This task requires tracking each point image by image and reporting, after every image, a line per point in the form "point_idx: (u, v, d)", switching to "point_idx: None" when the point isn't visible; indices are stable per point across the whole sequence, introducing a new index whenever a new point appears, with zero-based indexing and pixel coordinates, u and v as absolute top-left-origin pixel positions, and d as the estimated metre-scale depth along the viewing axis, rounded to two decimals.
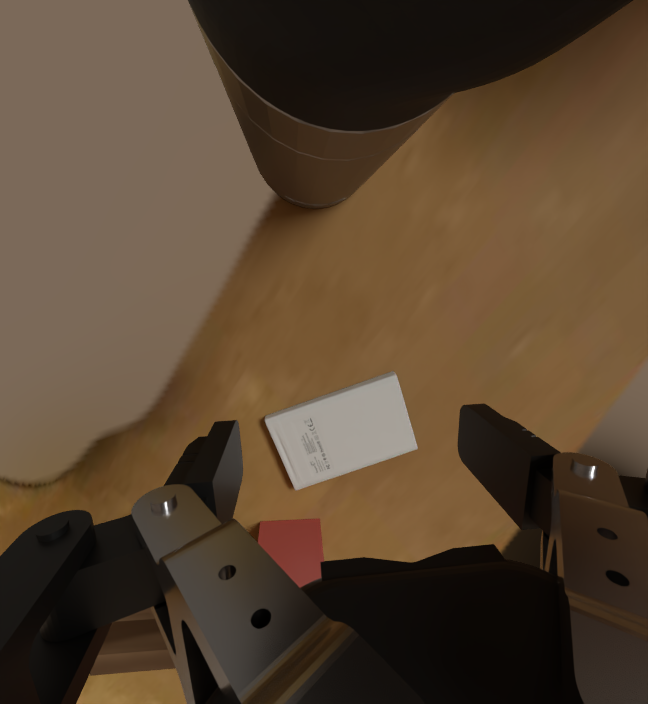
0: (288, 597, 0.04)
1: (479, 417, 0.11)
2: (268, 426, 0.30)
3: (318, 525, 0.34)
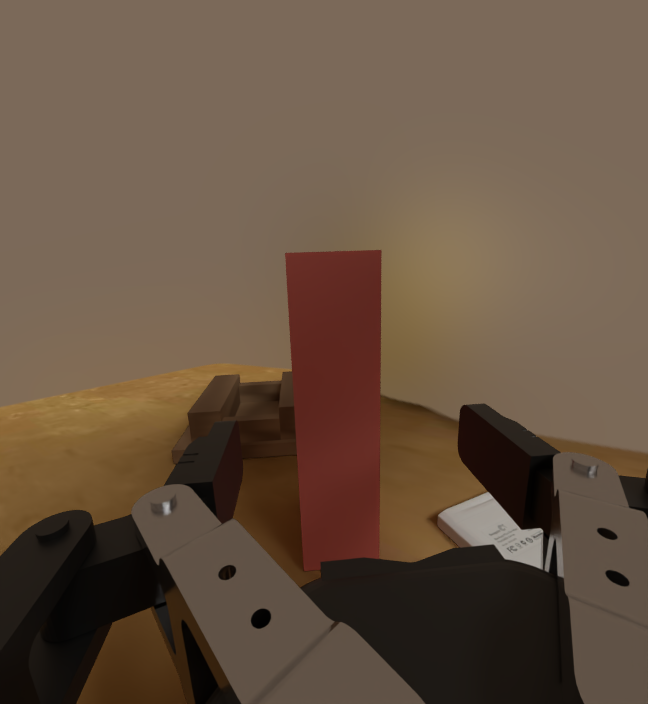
0: (288, 597, 0.04)
1: (479, 417, 0.11)
2: None
3: None
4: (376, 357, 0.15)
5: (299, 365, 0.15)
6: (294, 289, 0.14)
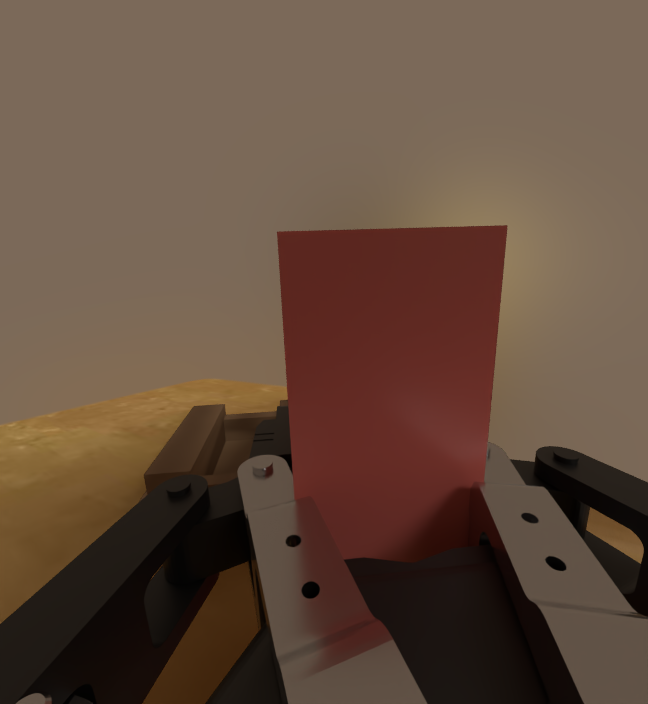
0: (340, 580, 0.05)
1: None
2: None
3: None
4: (477, 462, 0.07)
5: (309, 484, 0.07)
6: (300, 319, 0.06)
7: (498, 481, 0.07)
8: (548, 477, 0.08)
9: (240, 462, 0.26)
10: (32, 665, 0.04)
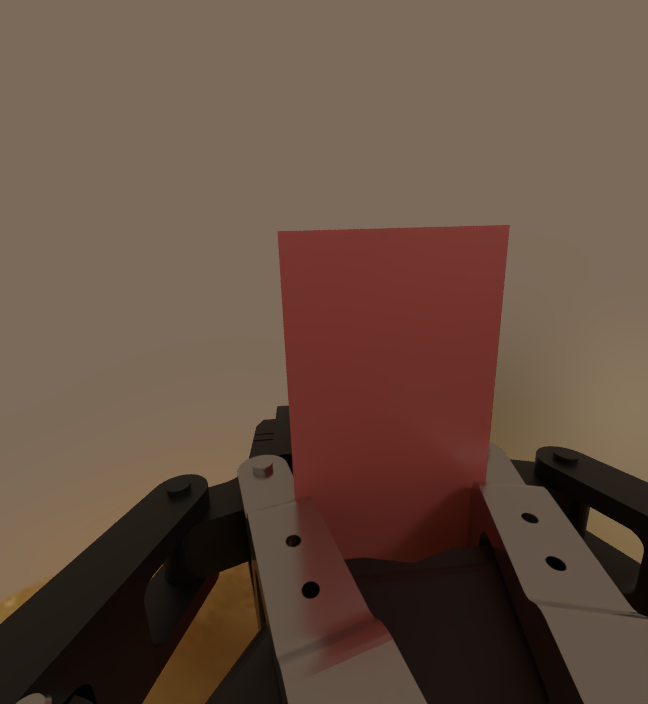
0: (339, 580, 0.05)
1: None
2: None
3: None
4: (478, 463, 0.07)
5: (310, 485, 0.07)
6: (301, 320, 0.06)
7: (498, 481, 0.07)
8: (548, 477, 0.08)
9: None
10: (32, 665, 0.04)
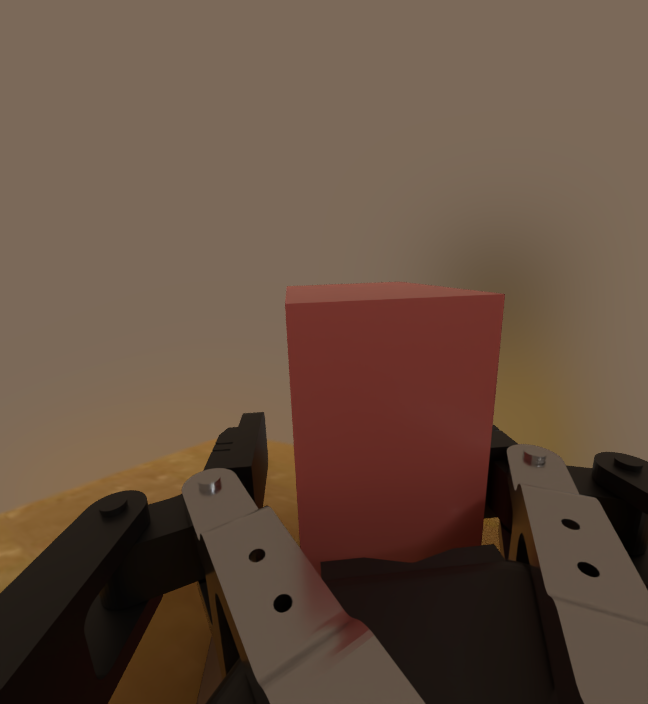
0: (310, 587, 0.05)
1: None
2: None
3: None
4: (476, 511, 0.07)
5: (315, 535, 0.07)
6: (307, 384, 0.06)
7: (563, 489, 0.07)
8: (604, 481, 0.08)
9: None
10: None
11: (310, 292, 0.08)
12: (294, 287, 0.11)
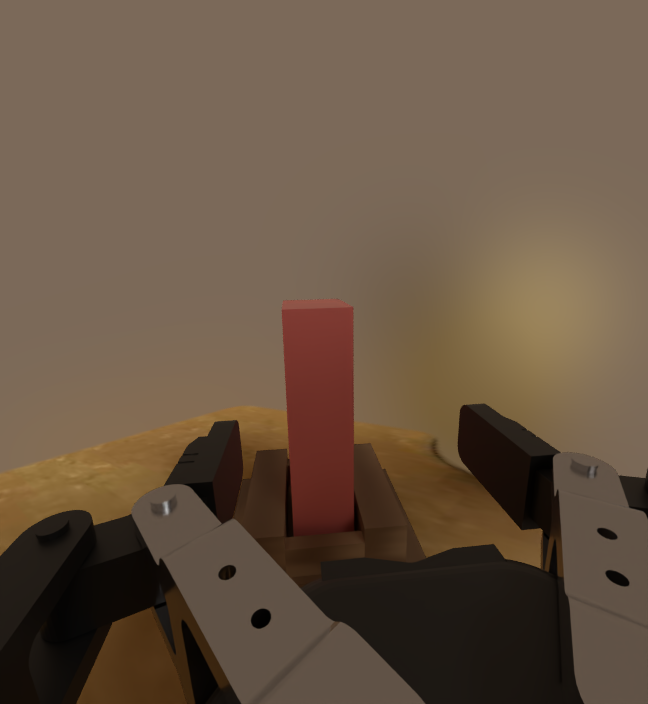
0: (288, 597, 0.04)
1: (479, 417, 0.11)
2: None
3: None
4: (350, 385, 0.20)
5: (291, 391, 0.20)
6: (289, 335, 0.19)
7: (624, 503, 0.07)
8: None
9: None
10: None
11: (292, 304, 0.21)
12: (286, 301, 0.24)
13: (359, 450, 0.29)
